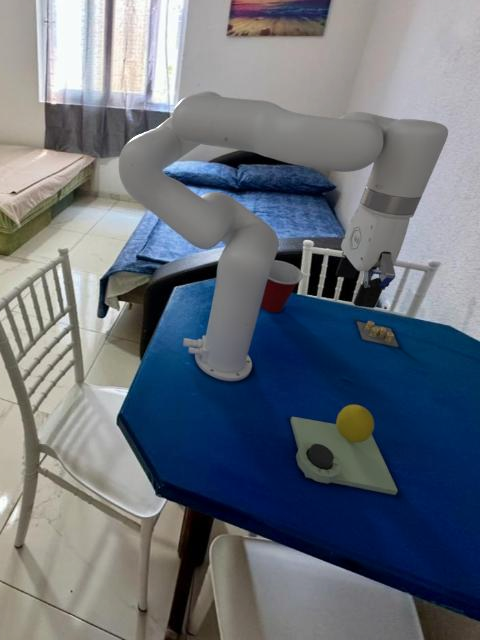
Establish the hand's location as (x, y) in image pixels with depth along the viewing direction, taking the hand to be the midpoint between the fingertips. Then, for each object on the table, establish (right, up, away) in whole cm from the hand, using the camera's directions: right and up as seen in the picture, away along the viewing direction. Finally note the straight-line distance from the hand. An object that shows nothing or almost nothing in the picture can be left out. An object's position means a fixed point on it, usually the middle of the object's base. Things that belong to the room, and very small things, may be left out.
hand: (353, 290), depth 73 cm
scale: (-3, -30, 0) cm, 30 cm away
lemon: (0, -28, +2) cm, 28 cm away
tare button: (-8, -29, -4) cm, 30 cm away
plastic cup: (+3, -8, +41) cm, 42 cm away
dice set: (+26, -14, +31) cm, 43 cm away
